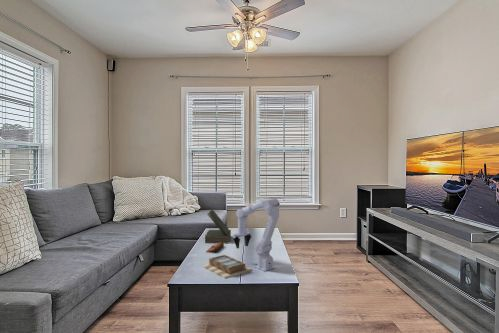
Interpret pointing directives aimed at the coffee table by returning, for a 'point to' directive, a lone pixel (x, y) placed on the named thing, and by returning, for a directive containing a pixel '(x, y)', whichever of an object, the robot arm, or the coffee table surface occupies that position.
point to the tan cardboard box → (227, 264)
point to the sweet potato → (215, 248)
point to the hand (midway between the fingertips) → (242, 247)
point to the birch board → (222, 273)
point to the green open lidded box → (217, 235)
